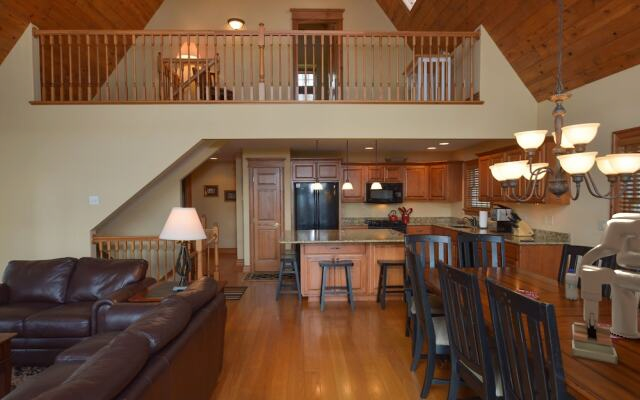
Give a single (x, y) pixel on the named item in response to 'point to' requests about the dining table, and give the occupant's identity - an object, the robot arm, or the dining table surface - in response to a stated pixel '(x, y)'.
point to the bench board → (589, 339)
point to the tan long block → (599, 329)
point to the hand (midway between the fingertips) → (591, 335)
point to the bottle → (571, 285)
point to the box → (594, 351)
